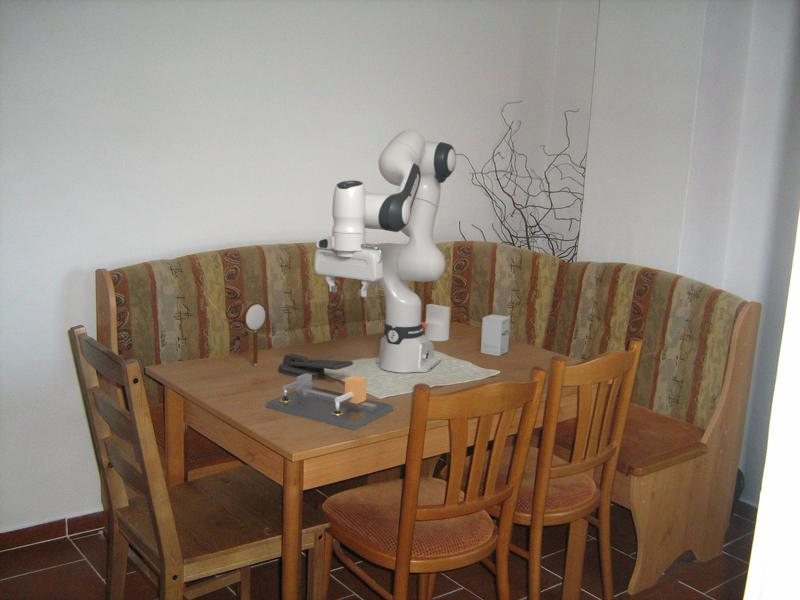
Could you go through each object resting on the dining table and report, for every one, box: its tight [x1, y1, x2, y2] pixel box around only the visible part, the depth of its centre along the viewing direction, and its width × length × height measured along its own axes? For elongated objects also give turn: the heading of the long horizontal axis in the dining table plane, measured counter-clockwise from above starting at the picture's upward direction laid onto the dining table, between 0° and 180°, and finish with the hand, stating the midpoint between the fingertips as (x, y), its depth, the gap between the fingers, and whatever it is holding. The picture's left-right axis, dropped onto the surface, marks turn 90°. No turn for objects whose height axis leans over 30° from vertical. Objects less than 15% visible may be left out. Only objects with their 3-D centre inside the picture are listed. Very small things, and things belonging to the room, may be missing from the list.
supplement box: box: [480, 314, 511, 357], centre depth 266 cm, size 7×7×13 cm
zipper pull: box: [278, 352, 354, 381], centre depth 232 cm, size 9×7×25 cm
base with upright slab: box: [424, 303, 451, 342], centre depth 285 cm, size 9×9×12 cm
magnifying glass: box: [243, 302, 267, 367], centre depth 241 cm, size 9×2×20 cm, turn 141°
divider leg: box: [335, 374, 368, 411], centre depth 200 cm, size 10×4×6 cm, turn 148°
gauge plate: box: [266, 373, 394, 431], centre depth 204 cm, size 18×28×6 cm, turn 58°
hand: (347, 294), depth 208 cm, fingers open, 8 cm apart
